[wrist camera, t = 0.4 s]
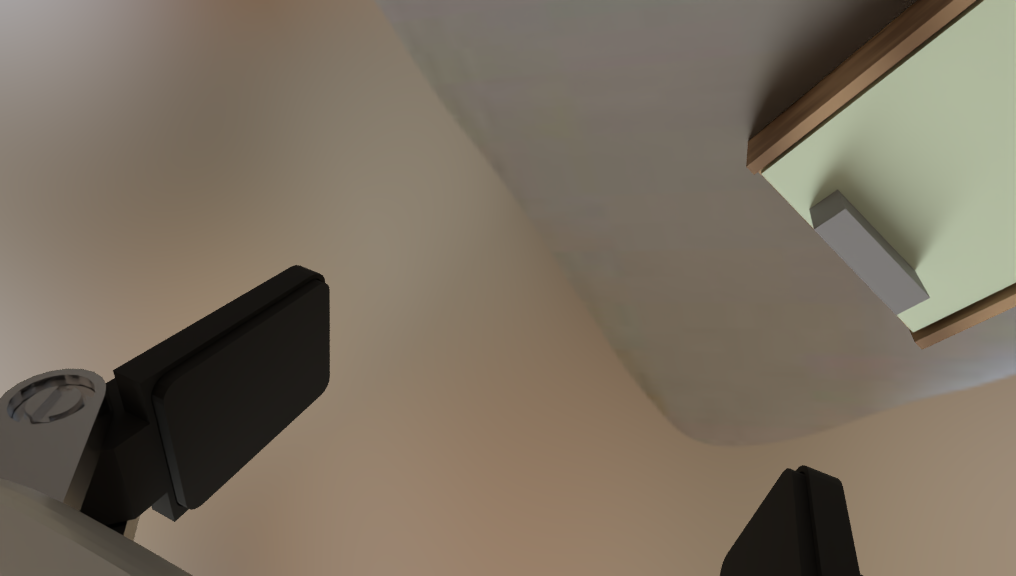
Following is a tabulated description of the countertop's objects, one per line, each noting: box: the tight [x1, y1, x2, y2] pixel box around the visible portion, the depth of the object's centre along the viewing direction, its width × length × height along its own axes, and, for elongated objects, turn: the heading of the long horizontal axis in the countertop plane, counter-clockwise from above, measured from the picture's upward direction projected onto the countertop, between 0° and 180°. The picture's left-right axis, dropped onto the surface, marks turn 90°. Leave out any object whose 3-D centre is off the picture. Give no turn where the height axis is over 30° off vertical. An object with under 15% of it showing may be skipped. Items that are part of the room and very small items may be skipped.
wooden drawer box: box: [746, 0, 1016, 349], centre depth 26 cm, size 18×14×6 cm
